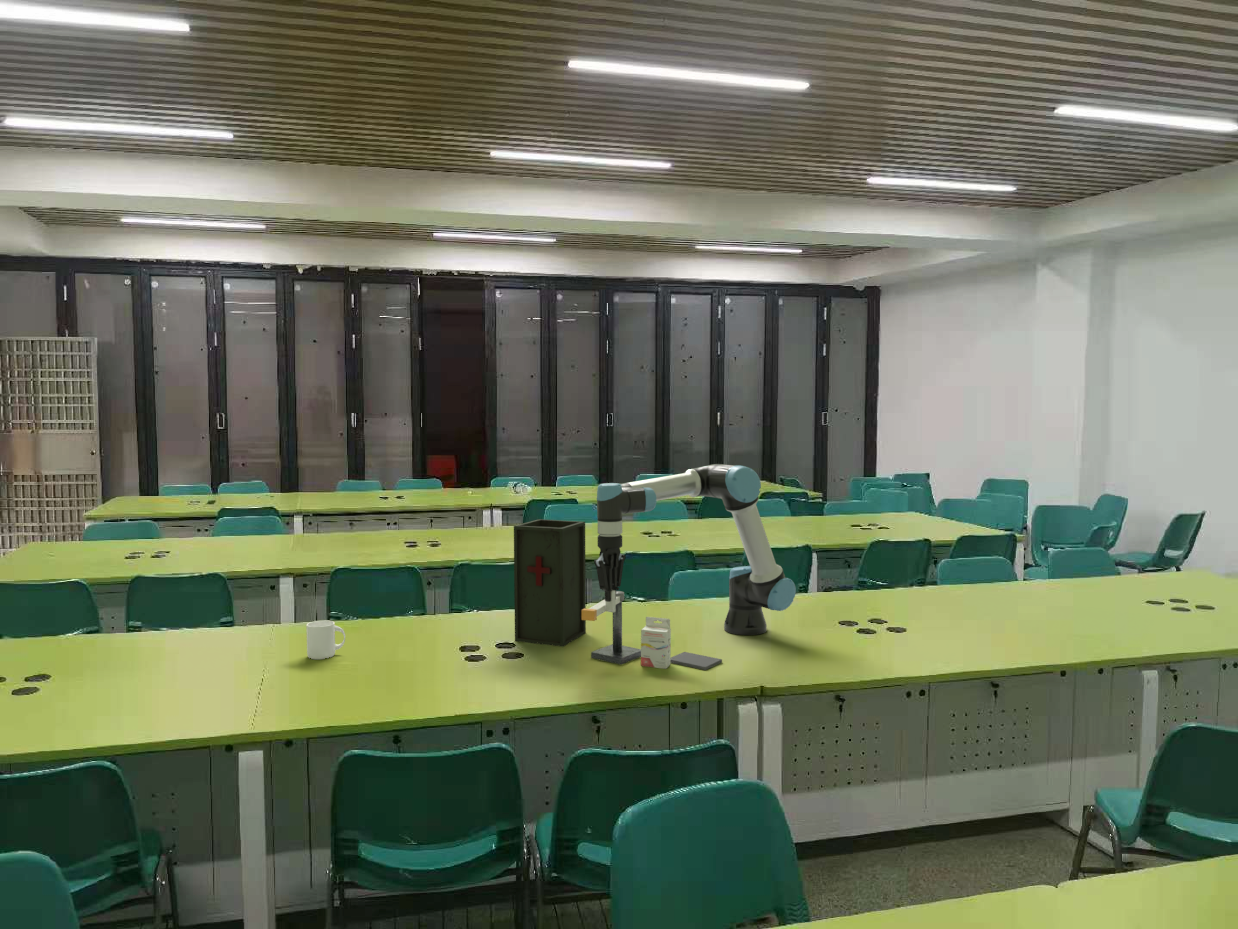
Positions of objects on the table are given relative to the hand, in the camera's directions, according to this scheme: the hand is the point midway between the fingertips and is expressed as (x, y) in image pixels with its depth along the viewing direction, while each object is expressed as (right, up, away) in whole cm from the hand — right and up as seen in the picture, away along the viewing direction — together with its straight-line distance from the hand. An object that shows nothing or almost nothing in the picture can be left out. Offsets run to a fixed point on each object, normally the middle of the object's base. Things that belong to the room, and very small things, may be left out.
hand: (610, 611), depth 262 cm
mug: (-93, -18, +18) cm, 96 cm away
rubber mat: (+26, -18, +10) cm, 33 cm away
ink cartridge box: (+14, -18, +7) cm, 24 cm away
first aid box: (-21, -16, +39) cm, 48 cm away
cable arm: (-2, 0, +4) cm, 4 cm away
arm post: (+2, -17, +16) cm, 23 cm away
